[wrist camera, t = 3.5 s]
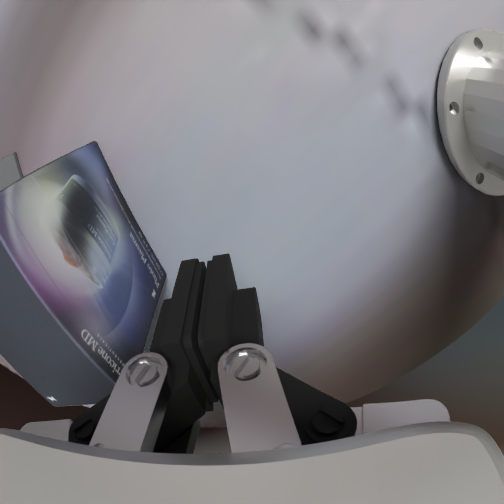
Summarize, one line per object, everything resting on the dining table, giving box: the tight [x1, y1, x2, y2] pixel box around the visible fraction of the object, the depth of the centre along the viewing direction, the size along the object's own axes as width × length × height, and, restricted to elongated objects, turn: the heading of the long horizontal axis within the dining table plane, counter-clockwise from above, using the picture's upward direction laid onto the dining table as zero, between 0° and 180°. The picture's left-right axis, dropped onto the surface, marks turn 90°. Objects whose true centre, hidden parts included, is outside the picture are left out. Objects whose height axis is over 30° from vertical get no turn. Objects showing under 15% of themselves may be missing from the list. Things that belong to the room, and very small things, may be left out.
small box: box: [0, 141, 166, 406], centre depth 14 cm, size 11×6×10 cm, turn 20°
